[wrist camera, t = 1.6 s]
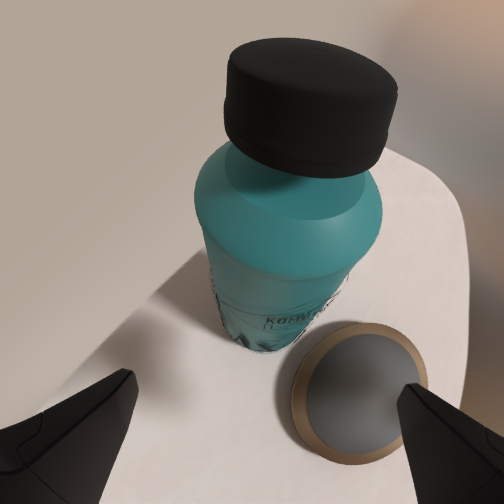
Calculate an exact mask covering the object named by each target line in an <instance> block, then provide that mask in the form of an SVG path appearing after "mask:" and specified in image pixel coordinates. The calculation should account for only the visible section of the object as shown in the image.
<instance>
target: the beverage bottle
mask: <svg viewBox="0 0 504 504" xmlns="http://www.w3.org/2000/svg"><path fill="white" fill-rule="evenodd" d="M397 90H398V87H397V83H396V82H395V80H394V78H393V77H392V76H391V75H390V74H389V73H388V72H387V71H386V70H385V69H384V68H383V67H381V66H380V65H378V64H377V63H375V62H374V61H372V60H370V59H368V58H367V57H365V56H362V55H360V54H358V53H356V52H354V51H351V50H349V49H345V48H343V47H340V46H337V45H333V44H329V43H325V42H320V41H315V40H309V39H300V38H270V39H261V40H256V41H252V42H249V43H246V44H243V45H241V46H239V47H237V48H236V49H235V50H234V51H233V52H232V53H231V55H230V58H229V60H228V65H227V86H226V98H225V101H224V125H225V131H226V133H227V136H228V137H229V139H230V141H228V142H226V143H225V144H224V145H223V146H221V147H220V148H219V149H217V150H216V151H215V152H214V153H213V154H212V155H211V156H210V157H209V158H208V159H207V161H206V162H205V164H204V165H203V167H202V168H201V170H200V172H199V175H198V178H197V181H196V185H195V191H194V203H195V209H196V214H197V217H198V220H199V223H200V225H201V227H202V231H203V235H204V240H205V244H206V249H207V253H208V258H209V262H210V266H211V269H210V271H211V270H212V278H213V280H212V279H211V282H212V281H213V282H214V285H213V287H214V286H215V289H214V290H216V294H215V295H216V298H217V301H218V305H219V308H220V309H221V312H222V313H221V312H220V314H221V315H223V319H224V323H225V326H226V328H227V330H228V332H229V334H230V336H231V337H233V339H234V340H235V341H236V342H237V343H239V344H240V346H241V345H242V346H244V347H245V348H248V350H249V349H250V350H251V351H252V350H253V351H254V353H255V351H258V352H260V354H261V353H262V352H270V353H272V351H275V352H277V350H279V349H282V348H284V347H286V346H288V345H289V344H290V343H292V342H293V341H294V340H295V339H296V338H297V336H298V335H299V334H300V333H302V334H303V332H302V331H303V330H304V328H305V327H306V328H307V326H308V324H309V323H310V322H311V320H313V318H314V317H315V316H316V314H317V313H318V312H320V311H323V310H322V309H323V308H322V307H323V306H324V305H325V304H326V302H327V301H328V300H329V299H330V297H331V296H332V295H333V294H334V292H335V291H337V289H338V287H339V286H340V285H341V284H342V282H343V280H344V278H345V277H346V276H347V275H349V272H350V271H351V269H352V268H353V267H354V266H355V264H356V263H357V262H358V261H359V260H360V259H361V258H362V257H363V256H364V255H365V254H366V253H367V252H368V251H369V249H370V248H371V246H372V245H373V244H374V242H375V240H376V238H377V236H378V234H379V230H380V227H381V222H382V201H381V196H380V193H379V190H378V187H377V185H376V183H375V181H374V179H373V177H372V175H371V174H370V172H369V171H368V170H369V169H370V168H371V167H373V166H374V165H375V164H376V162H377V161H378V160H379V158H380V156H381V153H382V151H383V149H384V147H385V144H386V141H387V137H388V129H389V125H390V122H391V119H392V115H393V112H394V108H395V105H396V101H397V96H398V94H397ZM347 280H348V278H347ZM212 291H213V289H212ZM213 292H214V291H213ZM338 292H339V291H338ZM335 293H336V292H335ZM338 294H339V293H338ZM338 294H336V295H338ZM334 296H335V294H334ZM334 296H333V297H334ZM214 297H215V296H214ZM331 298H332V297H331ZM332 299H333V298H332ZM215 300H216V299H215ZM333 300H334V299H333ZM333 300H332V301H333ZM332 301H330V303H331V302H332ZM216 303H217V302H216ZM218 305H217V306H218ZM328 305H329V303H328V304H327V305H325V306H328ZM325 306H324V307H325ZM219 308H218V310H219ZM321 308H322V309H321ZM324 310H325V309H324ZM320 313H321V312H320ZM320 313H319V314H320ZM319 314H318V315H319ZM221 315H220V316H221ZM318 317H319V316H317V318H318ZM221 319H222V317H221ZM223 319H222V323H223ZM224 323H223V326H224ZM312 323H313V322H312ZM310 324H311V323H310ZM311 325H312V324H311ZM311 325H310V326H311ZM225 326H224V328H225ZM310 326H309V327H310ZM305 331H306V329H305ZM305 331H304V332H305ZM229 334H228V335H229ZM302 334H301V335H302ZM301 335H300V336H301ZM300 336H298V338H297V339H299V337H300ZM297 339H296V340H295V341H297ZM295 341H294V343H295ZM239 344H237V345H239ZM290 346H291V345H290ZM290 346H289V347H290ZM244 347H243V348H244ZM279 351H280V350H279ZM268 354H269V353H268Z"/></svg>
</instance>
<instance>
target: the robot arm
mask: <svg viewBox="0 0 504 504" xmlns="http://www.w3.org/2000/svg"><path fill="white" fill-rule="evenodd" d="M138 393H139V388H138V384H137V380H136V376H135V373H134V372H133V371H132V370H128V369H124V368H122V369H120V370H118V371H116V372H114V373H113V374H111V375H109V376H107V377H106V378H104V379H102V380H100V381H98V382H97V383H95V384H93V385H91V386H89V387H88V388H86V389H84V390H82V391H80V392H78V393H77V394H75V395H73V396H71V397H69V398H67V399H65V400H64V401H62V402H60V403H58V404H56V405H54V406H52V407H50V408H48V409H47V410H45V411H43V413H42V412H41V413H39V414H37V415H35V416H33V417H31V418H28V419H26V420H24V421H22V422H20V423H17V424H15V425H12V426H9V427H7V428H4V429H1V430H0V504H99V501H100V499H101V496H102V493H103V491H104V488H105V485H106V483H107V480H108V478H109V475H110V473H111V470H112V468H113V465H114V463H115V460H116V458H117V455H118V453H119V450H120V448H121V445H122V443H123V441H124V438H125V436H126V433H127V431H128V428H129V424H130V421H131V417H132V414H133V410H134V407H135V404H136V400H137V397H138ZM396 406H397V411H398V416H399V422H400V428H401V434H402V439H403V443H404V447H405V451H406V454H407V458H408V462H409V466H410V470H411V474H412V478H413V482H414V487H415V491H416V496H417V501H418V504H504V437H502V436H500V435H498V434H497V433H494V432H493V431H492V430H490V429H488V428H487V427H485V426H483V425H482V424H480V423H479V422H477V421H475V420H474V419H472V418H471V417H469V416H468V415H466V414H465V413H463V412H461V411H460V410H458V409H457V408H455V407H454V406H452V405H450V404H449V403H447V402H446V401H444V400H443V399H441V398H440V397H438V396H437V395H435V394H433V393H432V392H430V391H429V390H427V389H426V388H424V387H423V386H421V385H420V384H418V383H415V382H414V383H408V384H406V385H405V386H404V388H403V390H402V392H401V394H400V395H399V397H398V399H397V404H396Z"/></svg>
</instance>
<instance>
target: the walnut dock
mask: <svg viewBox="0 0 504 504" xmlns="http://www.w3.org/2000/svg"><path fill="white" fill-rule="evenodd" d="M414 382H415V383H418V384H420V385H421V386H423V387H424V388H426V389H427V390H428V378H427V372H426V368H425V365H424V362H423V359H422V357H421V355H420V353H419V351H418V350H417V348H416V347H415V346H414V344H413V343H412V342H411V341H410V340H409V339H408V338H407V337H406V336H405V335H403V334H402V333H400V332H399V331H397V330H395V329H393V328H391V327H389V326H386V325H383V324H377V323H358V324H354V325H349V326H347V327H344V328H341V329H339V330H337V331H335V332H334V333H332V334H330V335H329V336H328V337H326V338H325V339H323V340H322V341H321V342H319V343H318V344H317V345H316V346H315V347H314V348H313V349H312V350H311V351H310V352H309V353H308V355H307V356H306V357H305V359H304V360H303V362H302V363H301V365H300V367H299V369H298V371H297V373H296V376H295V378H294V381H293V386H292V390H291V399H290V401H291V413H292V419H293V422H294V425H295V427H296V429H297V431H298V433H299V435H300V437H301V438H302V439H303V441H304V442H305V443H306V444H307V445H308V446H309V447H310V448H311V449H312V450H313V451H315V452H316V453H317V454H319V455H320V456H322V457H323V458H325V459H327V460H329V461H332V462H335V463H339V464H345V465H361V464H367V463H371V462H374V461H377V460H379V459H382V458H384V457H386V456H388V455H389V454H391V453H392V452H394V451H395V450H397V449H398V448H399V447H400V446H401V445H402V444H403V439H402V434H401V428H400V422H399V416H398V411H397V406H396V404H397V399H398V397H399V395H400V394H401V392H402V390H403V388H404V386H405V385H406V384H408V383H414Z"/></svg>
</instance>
